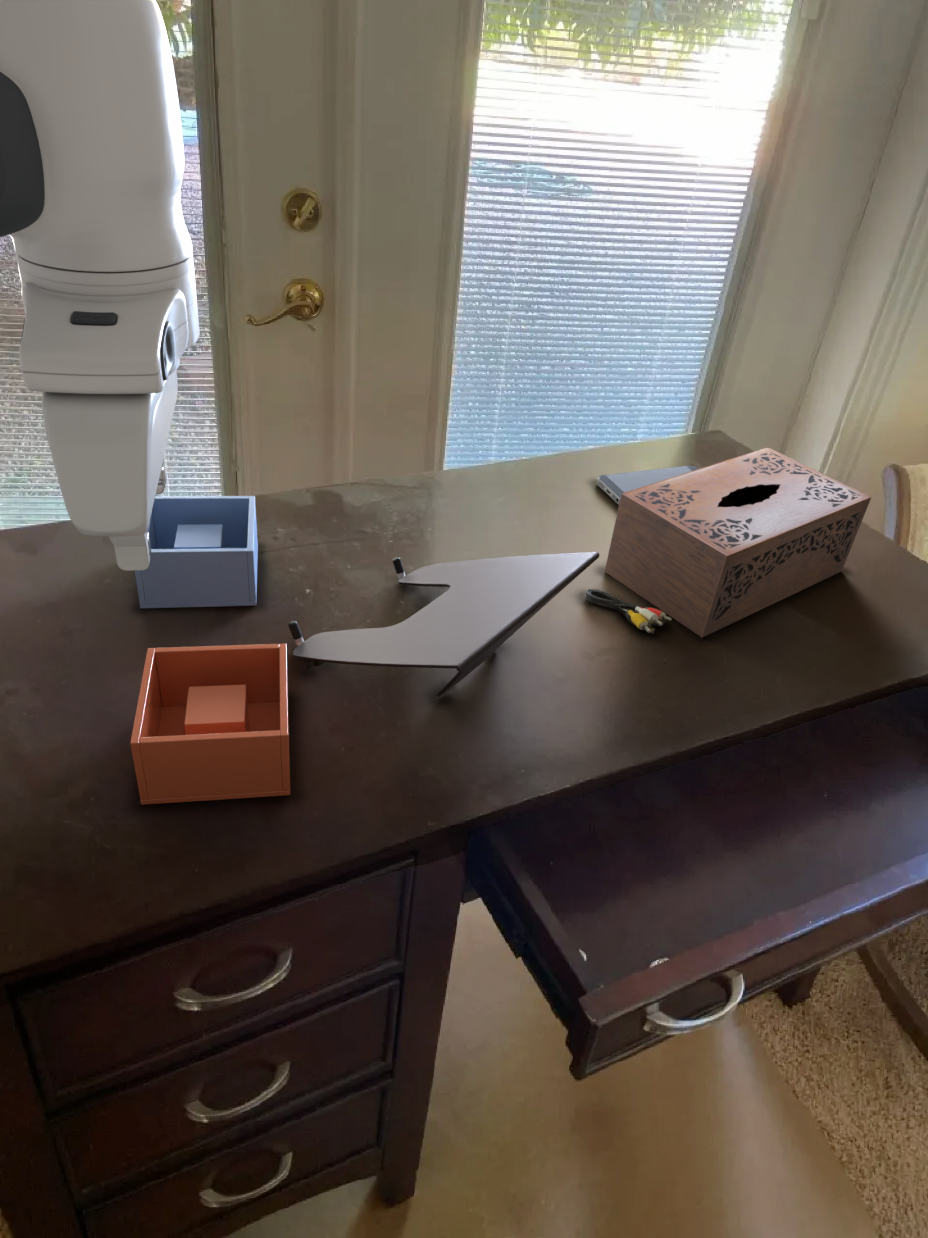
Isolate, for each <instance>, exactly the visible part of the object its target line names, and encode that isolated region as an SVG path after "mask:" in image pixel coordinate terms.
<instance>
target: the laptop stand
mask: <svg viewBox="0 0 928 1238" xmlns="http://www.w3.org/2000/svg"><path fill="white" fill-rule="evenodd" d="M599 557H600V553H599V552H598V551H584V552H583V551H582V552H562V553H545V554H543V553H542V554H529V555H527V554H526V555H516V556H500V557H489V558H488V557H487V558H478V559H468V560H458V561H447V562H439V563H434V564H429V565H426V566H422V567H419V568H418V569H416V570H413V571H411V572H410V573H408V574H406V573H405V569H404V565H403V562H402V559H401V557H394V558H393V559H392V560H391V561H392V564H393V567H394V571H395V573H396V575H397V578H398V584H399V585H401V586H414V587H415V586H416V587H441V588H442V587H445V588H449V589H447V590H446V591H444V592H443V593H442V594H441V595H439V596H437V598H435V599H434V600H432V601H430V603H427V605H425V606H424V607H422V608H421V609H420V610H418V611H416V612H415V613H414V614H412V615H410V616H409V617H408V618H406V619H405V620H403V621H401V622H399V623H396V624H393V625H389V626H384V627H371V628H354V629H342V630H333V631H331V630H330V631H323V632H318V633H316V634H314V635H311V636H310V637H308V638H306V639H305V640H304V637H303V634H302V631H301V628H300V625H299V623H298V621H297V620H292V621H290V622H288V625H287V626H288V628H289V631H290V634H291V636H292V639H293V641H294V643H295V645H296V647H295V648H294V650H293V651H292V655H293V657H294V658H295V659H300V660H303V662H304V666H305V667H306V669H308V670H309V669H312V668H314V667H320V666H323V665H324V663H330V664H339V665H353V666H366V667H367V666H371V667H387V668H412V669H413V668H414V669H415V668H417V669H419V668H420V669H456V671H457V673H456V674H455V675H454V676H453V678H451V680H450V681H449V682H448V683H446V685H445V686H444V687H443V688H442V689H441V690H440V691H438V693H436V696H437V698H440V697H442V696H443V695H444V694H446V692H448V691H449V690H451V689H452V688H454V687H455V686H456V685H458V683H460V682H461V681H462V680H463V679H464V678H466V677H467V676H468V675H469V674H470V673H472V672H473V671H474V670H475V669H476V668H477V667H479V666H480V665H481V664H483V663H485V661H486V660H487V659H488V658H489V657H490V656H491V655H493V653H494V652H496V650H498V649H499V648H500V647H501V646H502V645H503V644H504V643H505V642H506V641H507V640H508V639H510V638H511V637H512V636H513V635H514V634H515V633H516V632H517V631H518V630H519V629H521V628H522V627H523V626H524V625H525V624H526V623H527V622H528V621H530V619H531V618H533V617H534V616H535V615H536V614H537V613H538V612H540V610H542V609H543V608H544V607H545V606H546V605H547V604H548V603H549V602H551V601H552V600H553V599H554V598H555V597H556V596H557V595H558V594H559V593H561V592H562V591H563V590H564V589H565V588H566V587H568V585H570V584H571V583H572V582H573V581H574V580H575V579H577V577H578V576H580V575H581V574H582V573H583V572H584V571H586V570H587V569H588V568H589V567H590V566H591V565H592V564H593V563H594V562H595V561H597V560H598V558H599Z"/></svg>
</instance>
